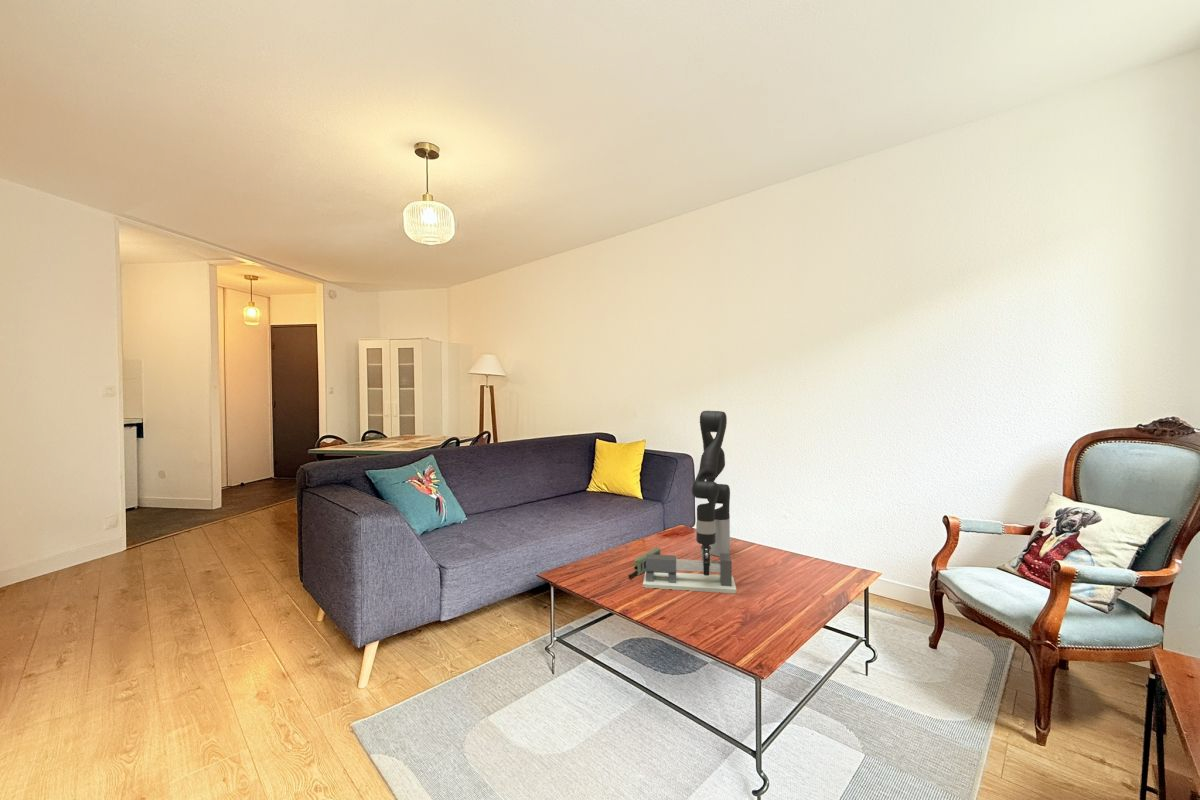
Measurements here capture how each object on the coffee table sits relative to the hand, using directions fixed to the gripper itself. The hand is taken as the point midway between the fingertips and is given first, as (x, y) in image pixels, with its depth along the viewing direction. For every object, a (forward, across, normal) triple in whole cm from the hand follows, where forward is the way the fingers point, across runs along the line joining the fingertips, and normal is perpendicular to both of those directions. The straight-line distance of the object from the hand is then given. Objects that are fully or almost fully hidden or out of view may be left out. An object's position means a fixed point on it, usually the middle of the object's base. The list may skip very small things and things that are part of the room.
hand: (706, 572), depth 192 cm
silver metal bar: (-1, 0, +4) cm, 4 cm away
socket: (+3, 0, -8) cm, 8 cm away
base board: (+5, 0, +7) cm, 8 cm away
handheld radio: (+5, +12, +26) cm, 29 cm away
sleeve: (+3, 0, +18) cm, 18 cm away
